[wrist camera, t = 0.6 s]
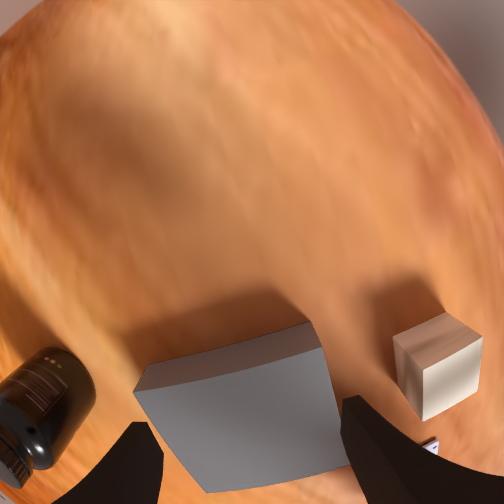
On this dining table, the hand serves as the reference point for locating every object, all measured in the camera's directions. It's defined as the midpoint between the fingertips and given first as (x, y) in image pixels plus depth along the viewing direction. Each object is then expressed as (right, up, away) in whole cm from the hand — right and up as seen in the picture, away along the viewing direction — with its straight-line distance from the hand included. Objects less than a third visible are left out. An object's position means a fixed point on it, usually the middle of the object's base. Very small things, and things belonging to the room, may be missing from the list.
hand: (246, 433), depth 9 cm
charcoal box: (0, -5, +12) cm, 13 cm away
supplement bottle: (-16, -4, +11) cm, 20 cm away
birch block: (+13, -1, +10) cm, 17 cm away
